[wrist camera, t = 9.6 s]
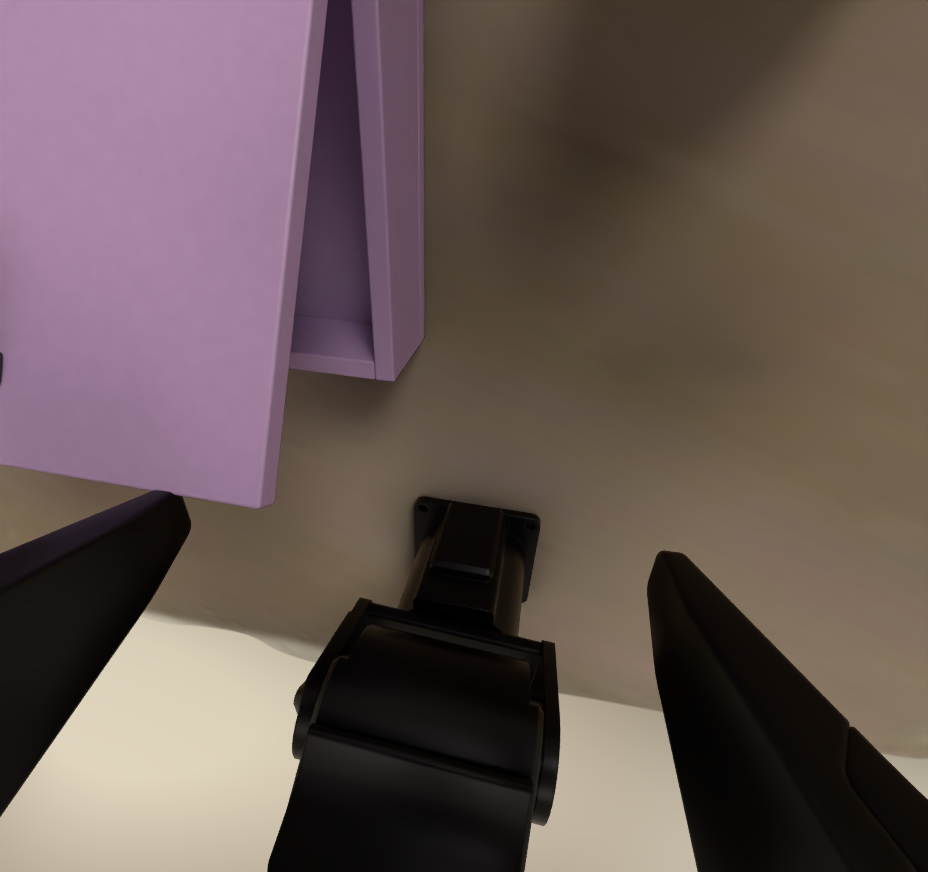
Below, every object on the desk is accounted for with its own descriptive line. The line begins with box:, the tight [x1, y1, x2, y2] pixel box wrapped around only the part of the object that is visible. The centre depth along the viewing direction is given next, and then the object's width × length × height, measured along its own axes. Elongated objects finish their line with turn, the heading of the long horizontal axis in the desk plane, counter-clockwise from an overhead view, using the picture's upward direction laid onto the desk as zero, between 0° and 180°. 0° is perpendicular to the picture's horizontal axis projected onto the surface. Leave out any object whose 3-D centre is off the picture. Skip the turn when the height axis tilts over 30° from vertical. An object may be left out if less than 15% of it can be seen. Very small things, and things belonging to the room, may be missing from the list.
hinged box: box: [289, 0, 424, 382], centre depth 15 cm, size 14×16×4 cm
